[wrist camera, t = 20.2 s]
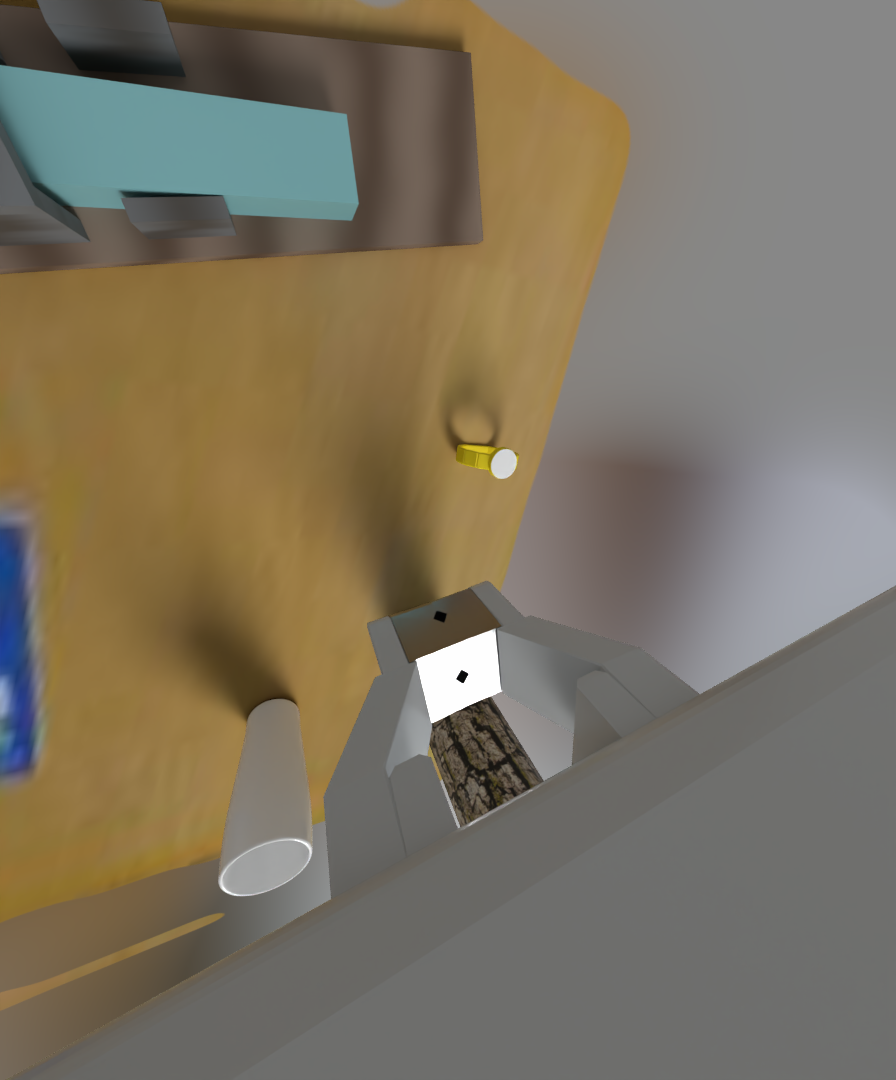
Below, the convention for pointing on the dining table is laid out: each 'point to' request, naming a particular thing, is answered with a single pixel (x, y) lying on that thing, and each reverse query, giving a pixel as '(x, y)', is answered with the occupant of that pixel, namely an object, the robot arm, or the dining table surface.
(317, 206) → the slat
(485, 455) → the watch
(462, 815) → the brown bark cylinder
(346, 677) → the dining table surface
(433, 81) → the end-cap base
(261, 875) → the drinking glass
